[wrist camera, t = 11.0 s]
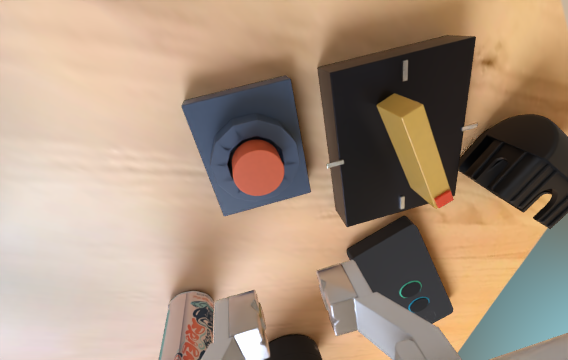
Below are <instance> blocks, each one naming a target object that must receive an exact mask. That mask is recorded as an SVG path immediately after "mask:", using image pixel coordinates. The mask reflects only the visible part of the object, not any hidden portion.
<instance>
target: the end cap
mask: <svg viewBox="0 0 568 360" xmlns="http://www.w3.org/2000/svg"><path fill="white" fill-rule="evenodd" d="M458 171H460V172H462V173H463V174H465V175H466V176H468V177H469V178H471V179H472V180H474V181H475V182H477V183H478V184H480V185H481V186H483V187H484V188H486V189H487V190H489V191H490V192H492V193H493V194H495V195H496V196H498V197H499V198H501V199H503V200H504V201H506V202H507V203H509V204H511V205H512V206H514V207H515V208H517V209H519V210H520V211H522V212H523V213H524V212H525V211H526V210H527V209H528V208H529V207H530V206H531V205H532V204H533V203H534V202H535V201H536V200H537V199H538V198H539V197H540V196H542V195H543V194H552V197H551V199H550V201H549V202H548V204H547V205H546V206H545V207H544V208H543V209H541V210H540V211H539V212H538V213H537V214H536V215H535V216H534V217H533V219H535V220H536V221H538V222H540V223H541V224H543V225H545V226H546V227H548V228H549V229H551V228H552V227H553V226H554V225H555V224H556V223H557V222H558V221H560V220H561V219H562V218H563V217H564V216H565V215H566V214H567V213H568V136H567V135H566V134H565V133H564V132H563V131H562V130H561V129H560V128H559V127H558V126H557V125H556V124H555V123H554V122H552V121H551V120H549V119H548V118H545V117H543V116H540V115H534V114H525V115H518V116H514V117H511V118H508V119H506V120H504V121H502V122H500V123H498V124H496V125H495V126H494V127H492V128H490V129H488V130H486V131H485V132H484V133H483V134H482V135H480V136H479V138H478V139H477V140H476V141H475V142H474V143H473V145H472V146H471V147H470V148H469V149H468V150H467V151H466V153H465V154H464V155H463V156H462V157H461V158H460V160H459V167H458Z"/></svg>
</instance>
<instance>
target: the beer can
mask: <svg viewBox="0 0 568 360" xmlns="http://www.w3.org/2000/svg"><path fill="white" fill-rule="evenodd" d="M213 311H214V302H213V300H212V298H211V297H210V296H209V295H207V294H205V293H202V292H199V291H188V292H183V293H180V294H178V295H177V296H175V297H174V298H173V299H172V300H171V301H170V303H169V305H168V313H167V318H166V324H165V329H164V334H163V340H162V345H161V350H160V356H159V360H201V358H202V357H203V355H204V353H205V351H206V350H207V348H208V346H209V344H211V343H213Z"/></svg>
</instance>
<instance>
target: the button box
mask: <svg viewBox="0 0 568 360" xmlns="http://www.w3.org/2000/svg"><path fill="white" fill-rule="evenodd" d="M182 109H183V112H184V114H185V117H186V119H187V122H188V124H189V127H190V130H191V132H192V135H193V137H194V140H195V143H196V145H197V148H198V150H199V153H200V156H201V158H202V161H203V163H204V166H205V169H206V171H207V174H208V176H209V179H210V181H211V184H212V187H213V189H214V192H215V194H216V197H217V200H218V202H219V205H220V207H221V210H222V213H223V215H224V216H228V215H231V214H235V213H238V212H242V211H246V210H249V209H253V208H256V207H260V206H263V205H267V204H271V203H274V202H278V201H281V200H285V199H289V198H292V197H296V196H299V195H303V194H306V193H310V192H311V190H310V184H309V179H308V173H307V167H306V162H305V156H304V151H303V145H302V139H301V134H300V128H299V123H298V117H297V111H296V106H295V100H294V94H293V89H292V83H291V79H290V78H289V77H287V76H286V75H285V76H281V77H277V78H273V79H269V80H265V81H261V82H256V83H252V84H248V85H244V86H240V87H236V88H232V89H228V90H224V91H220V92H216V93H212V94H208V95H204V96H200V97H196V98H192V99H188V100H184V102H183V104H182ZM256 139H257V140H264V141H267V142H269V143H270V144H272V145H273V146H274V147H275V148H276V150H277V152H278V154H279V156H280V158H281V160H282V163H283V165H284V177H283V180H282V182H281V184H280V185H279V186H278V188H277V189H275V190H274V191H273V192H271V193H269V194H266V195H262V196H252V195H249V194H246V193H244V192H242V191H241V190H240V189H239V188H238V187H237V186H236V184H235V182H234V179H233V172H232V157H233V154H234V152H235V151H236V149H237V148H238V147H239V146H240V145H241V144H243V143H245V142H247V141H250V140H256Z"/></svg>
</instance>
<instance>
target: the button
mask: <svg viewBox="0 0 568 360" xmlns="http://www.w3.org/2000/svg"><path fill="white" fill-rule="evenodd" d="M232 172H233V179H234V182H235V184H236V186H237V187H238V188H239V189H240V190H241V191H242V192H244V193H246V194H249V195H252V196H262V195H266V194H269V193H271V192H273V191H274V190H275V189H277V188H278V186H279V185H280V184H281V182H282V180H283V177H284V165H283V163H282V160H281V158H280V156H279V154H278V152H277V150H276V148H275V147H274V146H273V145H272V144H270V143H269V142H267V141H264V140H257V139H256V140H250V141H247V142H245V143H243V144H241V145H240V146H239V147H238V148H237V149H236V151H235V152H234V154H233V157H232Z"/></svg>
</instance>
